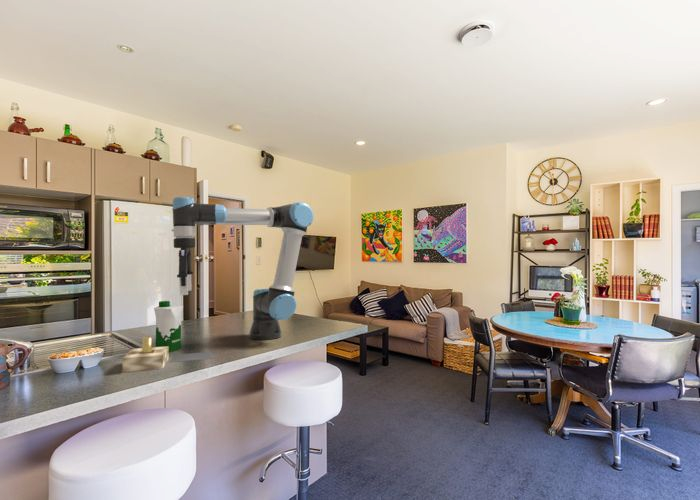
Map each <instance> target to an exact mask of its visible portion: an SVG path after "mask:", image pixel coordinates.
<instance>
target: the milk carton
mask: <svg viewBox="0 0 700 500" xmlns="http://www.w3.org/2000/svg"><path fill="white" fill-rule="evenodd" d="M183 309H184V306H183V305H173V304H171V301H170V300H162V301H159V302H158V306H156V307H154V308H153V311H154V314H155V344H154V347H165V346H169V353H172V352H175V351H178V350H180V349H182V348H183V347H182V315H183V314H182V313H183Z"/></svg>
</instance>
